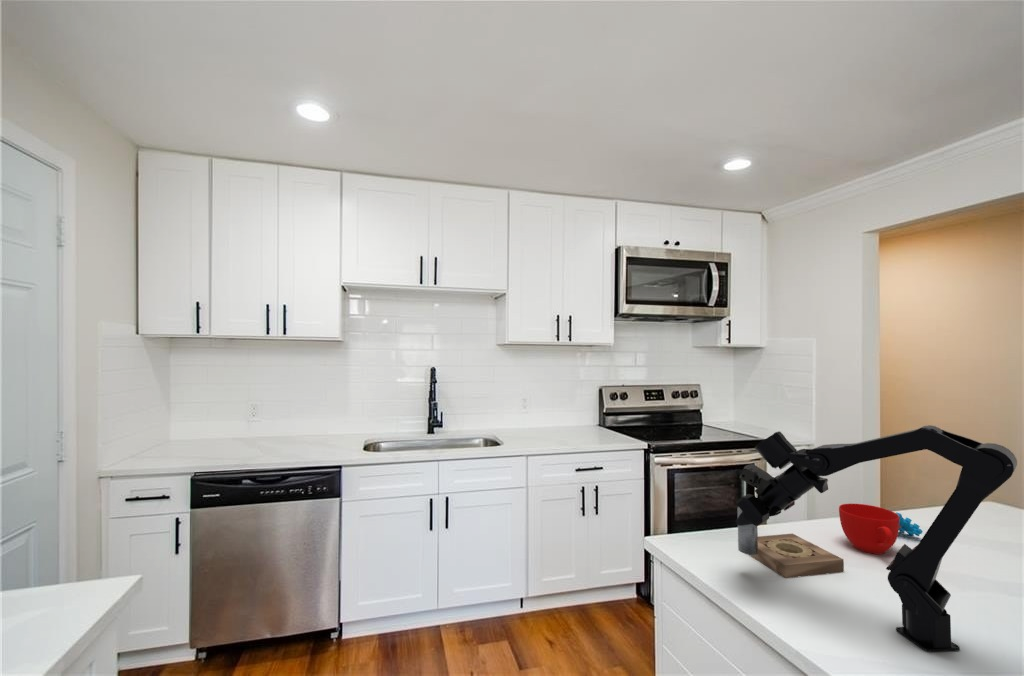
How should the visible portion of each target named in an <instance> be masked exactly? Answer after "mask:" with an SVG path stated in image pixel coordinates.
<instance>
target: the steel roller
mask: <svg viewBox="0 0 1024 676" xmlns="http://www.w3.org/2000/svg"><path fill="white" fill-rule="evenodd" d="M736 511H737V518H738V517H739V515H740V514H741V512H742V510H741V509H740V508H739V506H738V505H737V510H736ZM758 535H759V534H758V526H755V525H753V524H749V525H741V526H738V525H737V551H739V552H741V553H742V554H746V555H749V554H750V555H755V554H758ZM750 555H749V556H750Z"/></svg>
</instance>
